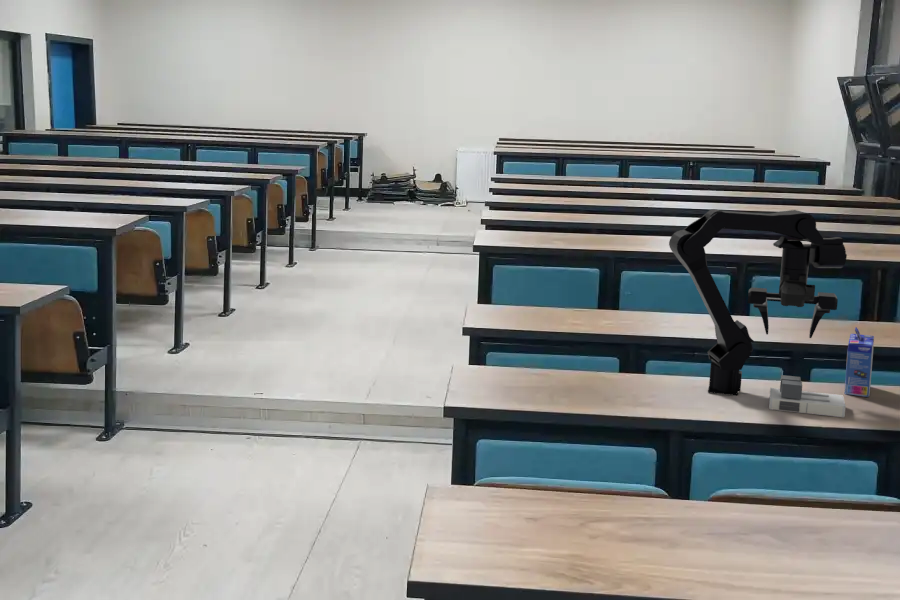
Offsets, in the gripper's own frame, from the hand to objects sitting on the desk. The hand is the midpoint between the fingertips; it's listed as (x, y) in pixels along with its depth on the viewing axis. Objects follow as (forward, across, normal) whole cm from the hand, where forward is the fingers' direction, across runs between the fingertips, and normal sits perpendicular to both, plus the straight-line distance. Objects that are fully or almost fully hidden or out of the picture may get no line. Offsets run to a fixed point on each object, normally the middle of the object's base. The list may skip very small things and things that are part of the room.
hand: (788, 335), depth 214 cm
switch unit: (+13, +4, -11) cm, 18 cm away
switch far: (+10, +1, -9) cm, 14 cm away
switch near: (+10, +1, -13) cm, 16 cm away
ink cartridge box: (+13, +16, +7) cm, 22 cm away
